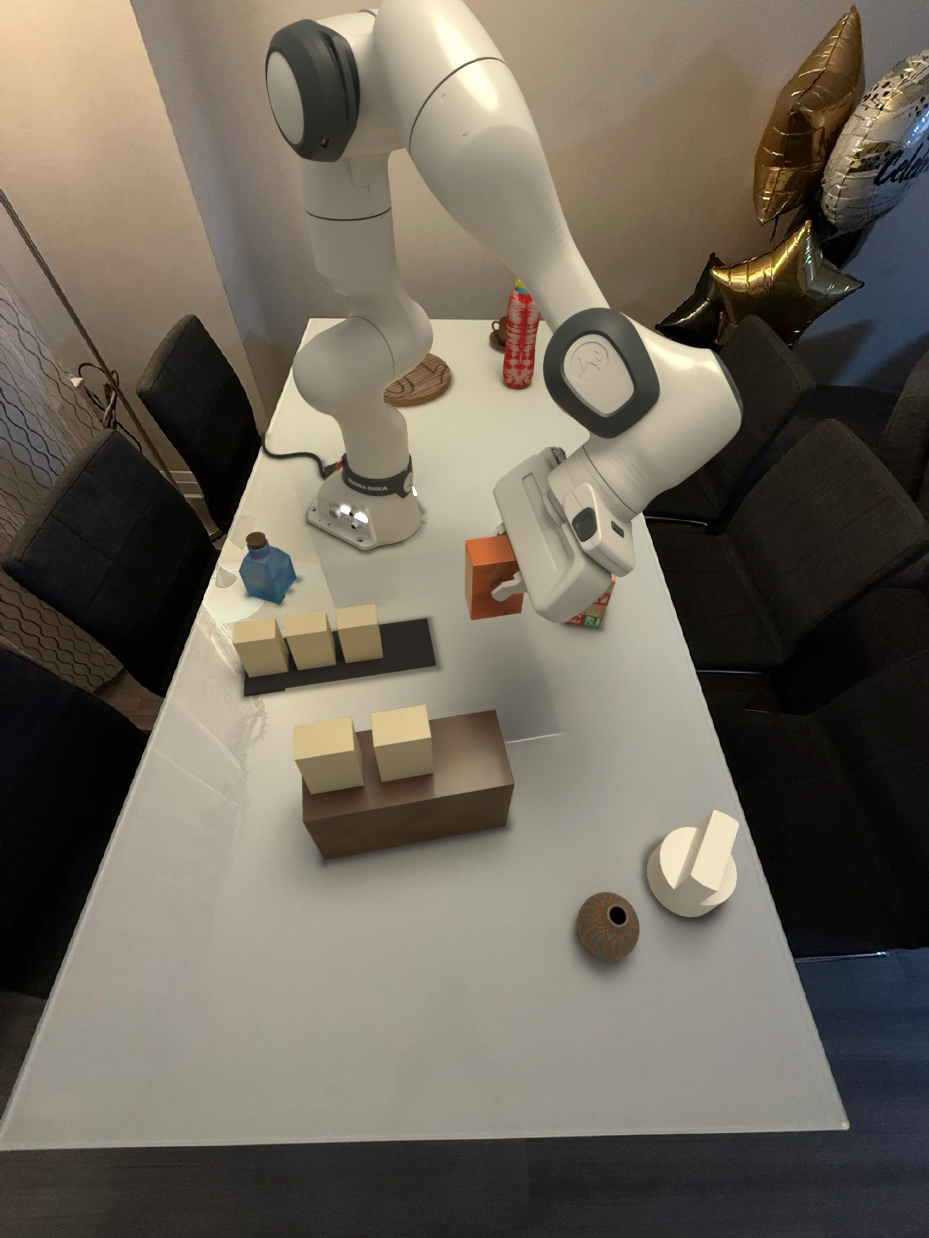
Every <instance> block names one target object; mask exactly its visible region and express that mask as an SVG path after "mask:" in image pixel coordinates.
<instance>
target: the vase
mask: <svg viewBox="0 0 929 1238" xmlns="http://www.w3.org/2000/svg"><path fill="white" fill-rule="evenodd" d="M576 926H577V932H578V936H579V938H580V941H581V944H582V945H583V946H584V947H585V948H586V950H587V951H588V952H590V954H592V955H593V956H594V957H596V958H598V959H601V960H604V961H611V962H613V961H618V960H621V959H624V958H625V957H627V956H628V955H630V953H632V951H634V949H635V948H636V946H637V944H638V941H639V939H640V931H641V928H640V921H639V917H638V914H637V911H636V910H635V908H634V907H633V906H632V904H631V903H630V902H629V901H628V900H627V899H626V898H624V897H623V896H621V895H620V894H617V893H615V892H609V891H602V892H598V893H595V894H592V895H591V896H589V897H588V898H587V899H586V900H585V901H584V902H583V904H581V906H580V909H579V911H578V914H577V919H576Z"/></svg>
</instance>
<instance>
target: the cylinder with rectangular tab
mask: <svg viewBox="0 0 929 1238" xmlns="http://www.w3.org/2000/svg"><path fill="white" fill-rule="evenodd" d="M740 824H741V823H740V822H739V821H738V820H736V819H734V818H733V817H731V816H730V815H728V814H726V813H724V812H721V811H719V810H716V809H714V810H712V811H711V812H710V814H708V815H707V817H705V819H703V821H702V822H701V823H700V824H699V825H698V826H697V827H693V826H684V827H683V826H682V827H678V828H677V829H674V830H672V831H671V832H670V833H669V834H667V836H665V837H664V839H663V840H662V841H661V842H660V843H659V844H658V846H657V847H656V848H655V849H654V851H653V852H652V853H651V855H650V856H649V857H648V861H647V866H646V878H647V882H648V885H649V888H650V890H651V892H652V893H653V896H654V897H655V898H656V899H657V901H658V902H659V903H660V904H661V906H662V907H665V909H667V910H668V911H670V912H671V913H674V914H675V915H678V916H680V917H687V918H698V917H701V916H703V915H705V914H707V913H709V912H710V911H712V910H714V909H715V908H716V907H718V906H719V905H721V904H723V903H724V902H726V901H727V900H728V899H729V897H731V896H732V894H733V892H734V891H735V889H736V886H737V879H738V873H737V865H736V863H735V861H734V857H733V855H732V854H731V853H732V849H733V845H734V843H735V840H736V836H737V834H738V830H739V828H740Z"/></svg>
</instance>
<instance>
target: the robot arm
mask: <svg viewBox="0 0 929 1238" xmlns="http://www.w3.org/2000/svg"><path fill="white" fill-rule="evenodd" d="M264 75H265V86H266V93H267V97H268V102H269V105H270V109H271V113H272V115H273V118H274V121H275V123H276V126H277V128H278V130H279V132H280V135H281V136H282V138H283V139H284V141H285V142H286V144H287V145H288V146H289V147H290V148H291V149H292V150H293V152H294V153H295V154H296V155H297V156H298V165H299V166H298V167H299V168H298V169H299V178H300V187H301V194H302V195H301V196H302V201H303V205H304V206H303V208H304V213H305V218H306V219H305V220H306V225H307V230H308V237H309V242H310V248H311V254H312V260H313V265H314V270H315V272H316V274H317V276H318V277H319V278H320V280H321V281H322V282H323V283H324V285H326V286H327V287H328V288H330V289H331V290H333V291H334V292H336V293H339V294H341V295H344V297H345V299H346V302H347V306H348V314H347V317H346V318H345V319H344V320H342V321H340V322H339V323H336V324H335V325H332V326H331V327H329V328H327V329H325V330H323V331H321V332H319V333H317V334H316V335H314V336H313V337H312V338H311V339H310V340H309V341H308V342H306V343H305V344H304V345H303V346H302V347H301V349H299V350H298V351H297V353H296V354H295V355H294V357H293V359H292V368H291V369H292V377H293V382H294V384H295V387H296V390H297V392H298V394H299V395H300V396H301V398H302V399H303V400H304V401H305V403H306V404H307V405H309V407H311V408H312V409H314V410H316V411H317V412H319V413H321V414H323V415H328V416H330V417H332V418H333V419H334V420H335V421H336V423H337V425H338V426H339V429H340V432H341V436H342V440H343V444H344V450H345V452H344V453H343V454H342V455H341V456H340V458H341V459H340V460H339V461H337V462H333V463H332V464H328V465H326V466H323V462H322V459H320V457H319V456H318V455H317V454H315V453H313V452H309V451H297V452H290V453H283V454H277V453H273V452H270V451H269V450H268V449H267V445H266V432H264V431H262V432H261V433H260V444H261V445H260V446H261V448H262V451H263V453H264V454H265V455H266V456H267V457H270V458H274V459H289V458H295V457H311V458H312V459H314V460H316V462H317V465H318V470H319V474H320V477H322V478H324V479H325V480H324V481H323V483H322V484H321V486H320V487H319V490H318V492H317V496H316V498H315V499H314V500H313V502H312V503H311V504H310V506H309V509H308V513H307V520H308V523H310V524H311V525H313V526H315V527H317V528H318V529H321V530H323V531H324V532H326V533H329V534H330V535H333V536H334V537H336V538H338V539H340V540H341V541H344V542H346V543H348V544H349V545H351V546H353V547H355V548H357V549H358V550H362V551H370V550H372V549H375V548H377V547H379V546H383V545H385V546H386V545H392V544H397V543H400V542H402V541H405V540H407V539H409V538H410V537H411V536H413V535H414V534H415V533H416V532H417V531H418V530H419V528H420V526H421V524H422V520H423V516H422V512H421V510H420V508H419V505H418V502H417V500H416V496H417V491H416V489H415V487H414V470H413V469H414V468H413V460H412V459H413V458H412V455H411V453H410V449H409V448H410V447H409V433H408V422H407V419H406V418H405V416H404V415H403V413H402V412H401V411H400V410H399V409H398V408H397V407H394V406H392V405H390V404H387V403H384V400H383V396H384V392H385V389H386V388H387V387H388V386H389V385H391V384H392V383H394V382H395V381H397V380H398V379H400V378H402V377H403V376H405V375H406V374H408V373H409V372H411V371H413V370H414V369H415V368H416V367H417V366H418V364H419V363H420V362H421V361H422V360H423V359H424V358H425V357H426V355H427V354H428V353H431V349H432V347H433V343H434V332H433V327H432V322H431V320H430V318H429V316H428V314H427V313H426V311H425V310H424V308H423V307H422V306H421V305H420V304H419V303H418V302H417V301H415V300H413V299H412V298H411V297H410V296H409V295H408V293H407V292H406V289H405V287H404V284H403V282H402V279H401V276H400V271H399V268H398V261H397V253H396V243H395V242H396V241H395V231H394V220H393V219H394V218H393V209H392V206H393V205H392V195H391V186H390V177H389V165H388V164H389V158H390V156H391V153H392V152H394V151H398V150H402V149H405V150H406V152H407V154H408V156H409V158H410V159H411V161H412V163H413V165H414V167H415V169H416V170H417V172H418V173H419V175H420V177H421V178H422V180H423V182H424V183H425V185H426V187H427V188H428V189H429V191H430V193H432V194H433V196H434V197H435V199H436V200H437V201H438V202H439V203H440V205H441V206H442V208H443V209H444V210H445V211H446V212H447V213H448V214H449V215H450V217H451V218H452V219H453V220H454V221H455V222H456V223H457V224H458V225H459V226H460V227H461V228H462V229H463V230H464V231H465V232H467V234H469V236H471V237H472V238H473V239H475V240H476V241H477V242H478V243H479V244H481V245H482V246H483V247H485V248H486V249H487V250H488V252H490V253H492V254H493V256H495V257H496V258H497V259H498V260H500V262H502V263H503V265H504V266H506V267H507V268H508V270H510V271H511V272H512V274H514V276H515V277H516V278H517V279H519V280H520V281H521V283H522V284H523V285H524V287H525V288H526V290H527V291H528V293H529V294H530V296H531V298H532V299H533V301H534V303H535V304H536V306H537V308H538V310H539V311H540V316H541V317H542V318H543V320H544V321H545V323H546V325H547V326H548V328H549V330H550V332H551V334H552V335H551V338H550V339H549V341H548V343H547V346H546V349H545V351H544V354H543V355H544V356H543V360H542V361H543V362H542V377H543V381H544V385H545V388H546V390H547V392H548V394H549V397H550V398H551V399H552V401H553V402H554V404H555V405H556V406H557V407H558V408H559V409H560V410H561V411H562V412H563V413H564V414H566V415H567V416H568V417H571V418H572V419H573V420H574V421H575V422H577V423H578V424H579V425H581V426H582V427H583V428H584V429H586V430H587V431H588V433H589V438H588V439H587V440H585V442H584V443H583V444H581V445H580V446H579V447H578V448H577V449H576V450H575V451H573V452H572V453H571V454H570V455H569V456H567V454H566V451H565V450H564V449H563V448H562V447H560V446H547V447H545V448H544V449H542V450H541V451H540V452H539V453H537V454H533V455H531V456H529V457H527V458H526V459H524V460H523V461H521V462H520V463H519V464H517V465H516V466H515V467H514V468H512V469H511V470H509V471H508V472H507V473H505V474H504V475H503V476H502V477H500V478H499V480H497V482H496V484H495V485H494V487H493V490H492V496H493V498H494V500H495V503H496V506H497V509H498V511H499V515H500V517H501V521H502V522H500V524H499V525H497V526H496V527H495V529H494V531H493V534H492V535H491V537H493V536H501V535H508V538H509V540H510V543H511V546H512V549H513V552H514V555H515V557H516V560H517V563H518V566H519V569H520V570H519V571H518V572H517V573H515V574H514V580H510V581H506V582H505V581H504V580H503V579H501V578H499V579H497V580H496V581H495V582H494V583H492V584H491V585H490V590H491V594H492V597H493V598H494V599H496V600H498V601H504V600H505V599H507V598H508V597H509V596H511V595H512V594H519V593H524V594H526V593H527V594H528V597H529V601H530V603H531V607H532V608H533V612H534V613H535V614H536V615H539V616H540V617H542V618H543V619H545V620H547V621H548V622H550V623H553V624H564V622H567V621H569V620H570V619H572V618H573V617H575V616H576V615H578V614H579V613H580V612H582V611H583V610H584V609H586V608H587V607H588V606H590V605H591V604H592V603H593V602H595V601H596V600H597V599H598V598H599V597H600V596H602V595H603V594H604V593H605V591H606V590H607V589H608V587H609V586H610V584H611V580H612V574H614V575H616V578H624V577H626V576H627V575H629V574H630V573H631V572H633V570H634V569H635V566H636V558H635V557H636V556H635V550H634V541H633V540H634V539H633V522H632V520H633V519H635V518H636V517H638V516H639V515H640V514H642V513H643V512H644V510H645V509H646V508H647V507H648V505H649V504H651V502H652V501H653V500H654V499H655V498H656V497H657V496H658V495H660V494H662V493H663V492H665V491H668V490H671V489H672V488H674V487H677V486H678V485H680V484H681V483H683V482H684V481H685V480H687V479H688V478H689V477H690V476H692V475H693V474H694V473H696V472H697V471H698V470H699V469H701V468H702V467H703V466H704V465H705V464H707V463H708V462H709V461H710V460H712V459H713V458H714V457H715V456H716V455H717V454H718V453H720V451H722V450H723V449H724V448H725V447H726V446H727V445H728V444H729V443H730V442H731V441H732V439H734V437H735V436H736V435H737V433H738V432H739V430H740V428H741V425H742V422H743V417H744V406H743V405H744V404H743V400H742V399H741V396H740V391H739V389H738V387H737V385H736V382H735V381H734V379H733V376H732V375H731V372H730V371H729V369H728V367H727V366H726V364H724V363H725V362H724V361H723V359H722V358H721V357H720V355H719V354H718V353H716V352H715V351H713V350H712V349H710V348H699V347H694V346H690V345H686V344H683V343H679V342H677V341H674V340H672V339H669V338H667V337H665V336H662V335H660V334H658V333H656V332H655V331H652V330H650V329H649V328H647V327H646V326H644V325H642V324H640V323H639V322H637V321H636V320H634V319H633V318H631V317H630V316H629V315H627V314H625V313H623V312H620V311H617V310H615V309H613V308H611V306H610V304H609V303H608V301H607V299H606V298H605V297H606V296H604V294H603V292H602V291H601V289H600V286H599V285H598V283H597V282H596V279H595V278H594V276H593V274H592V273H591V271H590V268H589V267H588V265H587V263H586V262H585V260H584V258H583V256H582V254H581V252H580V251H579V249H578V247H577V246H576V242H575V241H574V239H573V236H572V234H571V232H570V229H569V226H568V224H567V221H566V218H565V215H564V212H563V209H562V205H561V202H560V200H559V197H558V194H557V193H558V192H557V190H556V186H555V183H554V180H553V177H552V174H551V170H550V168H549V164H548V161H547V158H546V154H545V151H544V148H543V145H542V142H541V138H540V135H539V133H538V129H537V127H536V124H535V122H534V119H533V117H532V114H531V110H530V109H529V107H528V104H527V101H526V99H525V97H524V94H523V93H522V91H521V89H520V87H519V84H518V83H517V82H518V81H516V78H515V77H514V75H513V72H512V71H511V69H510V67H509V66H508V64H507V62H506V61H505V59H504V57H503V55H502V53H501V51H500V50H499V48H498V47H497V45H496V44H495V42H494V40H493V39H492V38H491V36H490V34H489V33H488V32H487V30H486V29H485V27H484V26H483V25H482V24H481V22H480V20H479V19H478V18H477V17H476V15H475V14H474V13H473V12H472V11H471V9H470V8H469V6H468V5H467V4H466V3H465V2H464V0H383V1H382V3H381V4H380V7H379V8H361V9H359V10H357V11H356V12H349V13H343V14H339V15H333V16H329V17H326V18H322V19H317V20H313V19H310V18H302V19H300V20H297V21H294V22H292V23H289V24H288V25H285V26H283V27H282V28H280V29H279V30H278V31H276V32H275V33H274V34H273V35H272V37H271V39H270V41H269V45H268V49H267V53H266V56H265V64H264Z"/></svg>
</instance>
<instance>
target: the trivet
mask: <svg viewBox="0 0 929 1238" xmlns="http://www.w3.org/2000/svg"><path fill="white" fill-rule="evenodd" d="M450 384H451V369H450V367H449V365H448V363H447V362H446V361H444V360H443V359H442V358H441V357H440V356H437V355H435V354H433V353H431V352H429V353H428V354H427V355H426V357H425V358H424V359H423V360H422V361H421V362H420V363H419V364H418V366H417V367H416V368H415V369H414V370H413V371H411V372H409V373H408V374H406V375H405V376H403V377H402V378H400V379H398V380H397V381H395V382H394V383H392V384H391V385H389V386H388V387H387V388H386V389H385V392H384V396H383V400H384V403H387V404H390V405H392V406H394V407H395V408H397V407H398V408H402V407H404V408H405V407H414V406H419V405H423V404H427V403H429V402H432V401H435V400H436V399H437V398H440V397H441V396H443V395H444V394H445V393H446V391H447V390H448V389H449V387H450Z"/></svg>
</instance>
